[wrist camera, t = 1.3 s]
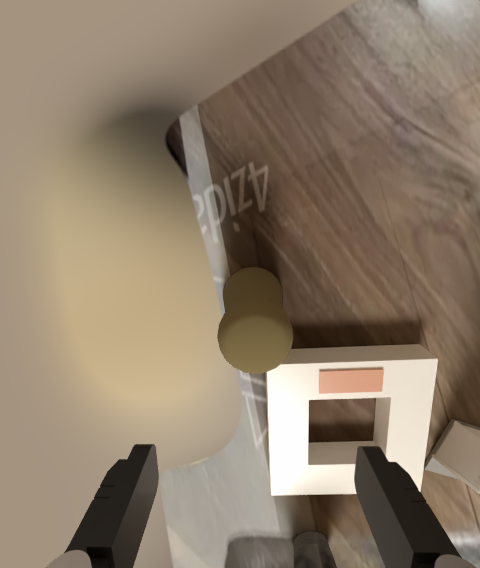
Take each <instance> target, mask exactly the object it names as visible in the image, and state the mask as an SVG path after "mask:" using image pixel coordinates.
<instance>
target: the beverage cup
mask: <svg viewBox="0 0 480 568" xmlns="http://www.w3.org/2000/svg"><path fill="white" fill-rule="evenodd" d="M293 548H294V568H337V567H336V564H335V561H334V558H333V555H332V552H331V550H330V548H329V544H328V541H327V538H326V537H325V536H324V535H322V534H321V533H319V532H315V531H307V532H303V533H301V534H299V535H298V536H297V537H296V538H295V539H294V542H293Z"/></svg>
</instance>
